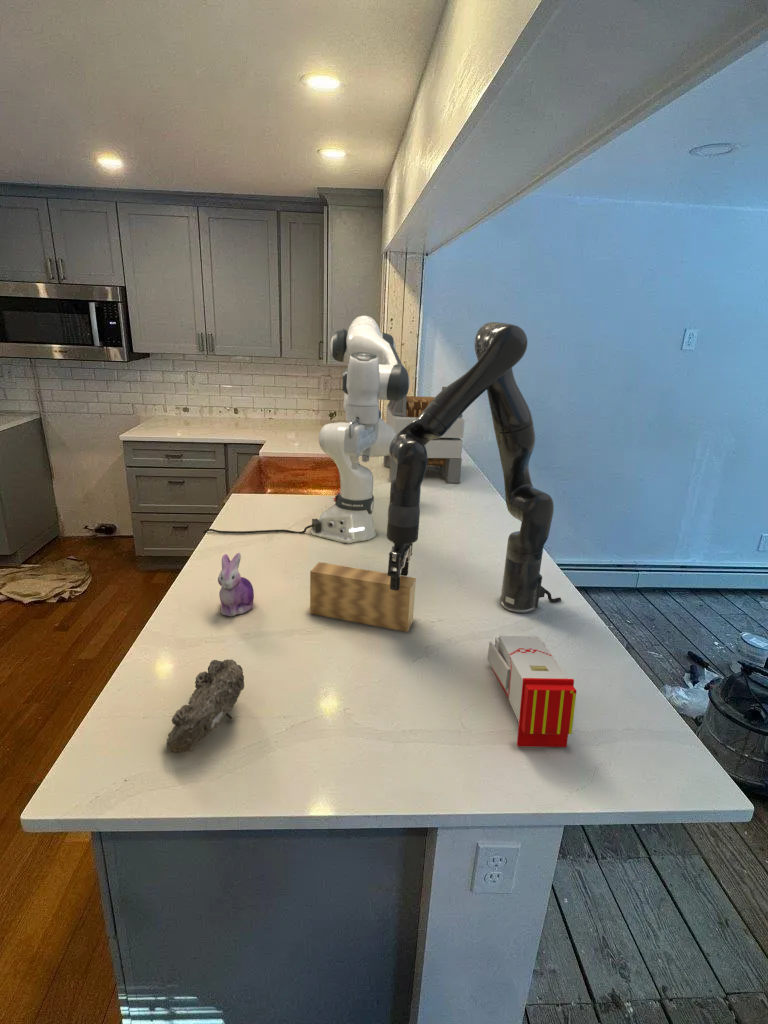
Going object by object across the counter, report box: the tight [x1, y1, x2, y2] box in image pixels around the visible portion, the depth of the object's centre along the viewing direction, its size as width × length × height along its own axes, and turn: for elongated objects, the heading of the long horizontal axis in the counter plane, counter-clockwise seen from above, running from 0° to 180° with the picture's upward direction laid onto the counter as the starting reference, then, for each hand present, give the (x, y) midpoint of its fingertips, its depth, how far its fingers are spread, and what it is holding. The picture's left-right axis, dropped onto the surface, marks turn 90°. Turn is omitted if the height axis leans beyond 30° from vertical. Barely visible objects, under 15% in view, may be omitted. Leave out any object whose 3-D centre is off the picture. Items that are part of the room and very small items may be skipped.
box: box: [309, 561, 417, 633], centre depth 143 cm, size 26×6×12 cm, turn 74°
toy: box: [486, 635, 577, 748], centre depth 115 cm, size 12×13×30 cm
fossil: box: [166, 658, 245, 754], centre depth 106 cm, size 22×10×15 cm
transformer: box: [383, 386, 465, 484], centre depth 268 cm, size 34×33×41 cm
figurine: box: [217, 552, 255, 617], centre depth 144 cm, size 9×10×15 cm
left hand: (360, 465), depth 157 cm, fingers open, 8 cm apart
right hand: (399, 582), depth 139 cm, fingers open, 8 cm apart
